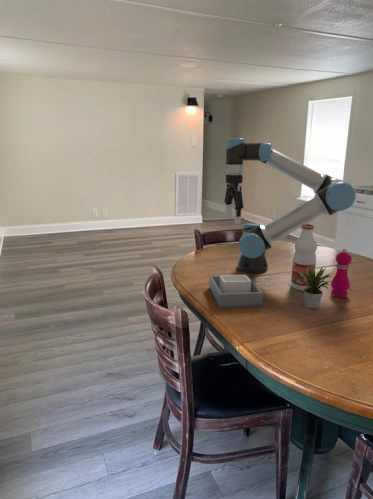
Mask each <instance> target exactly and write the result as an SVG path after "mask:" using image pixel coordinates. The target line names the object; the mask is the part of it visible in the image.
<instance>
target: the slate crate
mask: <svg viewBox="0 0 373 499" xmlns="http://www.w3.org/2000/svg"><path fill="white" fill-rule="evenodd" d="M245 275H246V276H247V277H248V278H249V279H250V280H251V292H249V293H221V291H220V290H219V285H220V275H210V276H209V279H208V280H209V282H208V283H209V287H208V288H209V290H210V293H211V294H212V297H213V299H214V300H215V302H216V304H217V307H218V309H224V308H225V309H228V308H248V307H250V308H252V307H253V308H255V307H263V300H264V292H263V291H262V290H261V289H260V287H258V285H257V284H256V283H255V281H254V280H253V279H252V278H251V277H250V276H249V275H248V274H245Z"/></svg>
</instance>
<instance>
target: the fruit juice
mask: <svg viewBox="0 0 373 499" xmlns="http://www.w3.org/2000/svg"><path fill="white" fill-rule="evenodd" d="M300 229H301V233H300V234H299V237H298V238H297V239H296V240H295V242H294V253H293V257H292V270H291V281H290V285H291V288H293V289H294V290H298V291H303V292H304V289H305V288H306V287H307V285H306V284H305V283H303V282H301V281H298V280H299V279H302V280H304V281H305V282H306V283H307V281H306V280H307V278H306V277H305V275H304V273H303V272H302V271H304V272H305V274H306V273H307V275H308V266H309V267H310V269H311V271H312V273H313V266H314V269H315V270H316V262H317V255H316V251H317V249H318V243H317V241H316V240H315V238H314V233H313V231H314V229H315V227H314V225H313V224H311V223H308V224H303V225H302V226H301V228H300ZM300 269H301V270H302V271H301V270H300ZM307 284H308V283H307Z"/></svg>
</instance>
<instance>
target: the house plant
mask: <svg viewBox="0 0 373 499" xmlns="http://www.w3.org/2000/svg"><path fill="white" fill-rule="evenodd" d="M300 270H301V269H300ZM301 271H302V270H301ZM325 271H326V268H324V269H323V266H322V267H321V268H320V269H319V270H318V272H317V273H316V268H315V269H314V266H313V273H312V271H311V269H310V267H309V266H308V275H307V273H306V274H305V272H304V271H302V272H303V273H304V275H305V277H306V278H307V280H306V281H307V283H308V284H307V283H306V282H305V281H304V280H302V279H299V280H298V281H301V282H303V283H305V284H306V285H307V287H306V288H305V289H304V291H303V297H304V298H303V301H304V306H305V307H306V308H307V307H308V309H311V308H316V309H318V308H319V306H320V303H321V300H322V297H323V293H324V292H323V291H322V290H321V289H323V288H326V289H327V290H329V288H328V286H327V285H329V283H331V282H333V281H332V280H329V281H328V280H327V281H326V278H331V277H334V276H333V275H336V272H332V273H327V274H326V275H324V272H325ZM323 275H324V276H323Z"/></svg>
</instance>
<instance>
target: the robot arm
mask: <svg viewBox="0 0 373 499" xmlns="http://www.w3.org/2000/svg"><path fill="white" fill-rule="evenodd" d="M244 140H245V139H244V138H241V137H239V138H238V137H237V138H236V137H234V138H233V137H231V138H227V139H226V148H225V166H224V169H225V174H226V175H225V183H226V190H225V197H224V200H223V201H224V203H225V219H227V220H229V219H232V217H233V216H232V214H233V213H232V210H233V209H234V225H240V224H242V209H244V201H243V193H242V186H241V185H239V184H242V183H243V180H244V179H243V173H244V161H254V162H255V161H256V162H257V161H259V162H261V163H263V164H265V165H267V166H268V167H270V168H272V169H274V170H275V171H278V172H279V173H282V174H283V175H285V176H286V177H289V178H291V179H292V180H295V181H296V182H298V183H300V184H301V185H304V186H305V187H308V188H309V189H311V190H312V191H313V193H314V197H313V198H312V199H309V200H308V201H306V202H304V203H302V204H300V205H299V206H297V207H295V208H293V209H292V210H290V211H289V212H286V213H285V214H283V215H281V216H279V217H278V218H276V219H274V220H273V221H271V222H269V223H267V224H263V223H251V222H249V223H244V224H243V226H242V235H241V237H240V238H239V240H238V249H239V251H240V254H241V255H240V257H239V259H238V263H237V269H238V270H239V271H241V272H244V273H250V274H251V273H253V274H260V273H265V272H267V271H268V270H269V269H268V268H269V263H268V260H267V256H266V251H268V250H269V249H271V248H274V245H275V243H276V242H278V241H279V240H281V239H283V238H285V237H287V236H288V235H290V234H291V233H293V232H295V231H298V230H299V229H301V226H302V225H303V224H311V223H312V222H314V221H315V220H317V219H319V218H321V217H323V216H328V217H330V216H332V215H334V214H336V213H338V212H342V211H346V210H348V209H349V208H351V207H352V206H353V204H354V203H355V201H356V196H357V195H356V190H355V188H354V187H353V186H352V184H351V183H350V182H348V181H344V180H343V179H338V178H335V177H333V176H331V175H328V174H327V173H324V174H322V173H320V172H317V170H316V171H315V170H313V169H312V168H310V167H308V166H306V165H305V164H303V163H300V162H298V161H296V160H295V159H293V158H291V157H289V156H287V155H285V154H283V153H282V152H280V151H277V149H274V148H272V143H270V142H245V141H244ZM233 202H234V208H233V207H232V206H233Z"/></svg>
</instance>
